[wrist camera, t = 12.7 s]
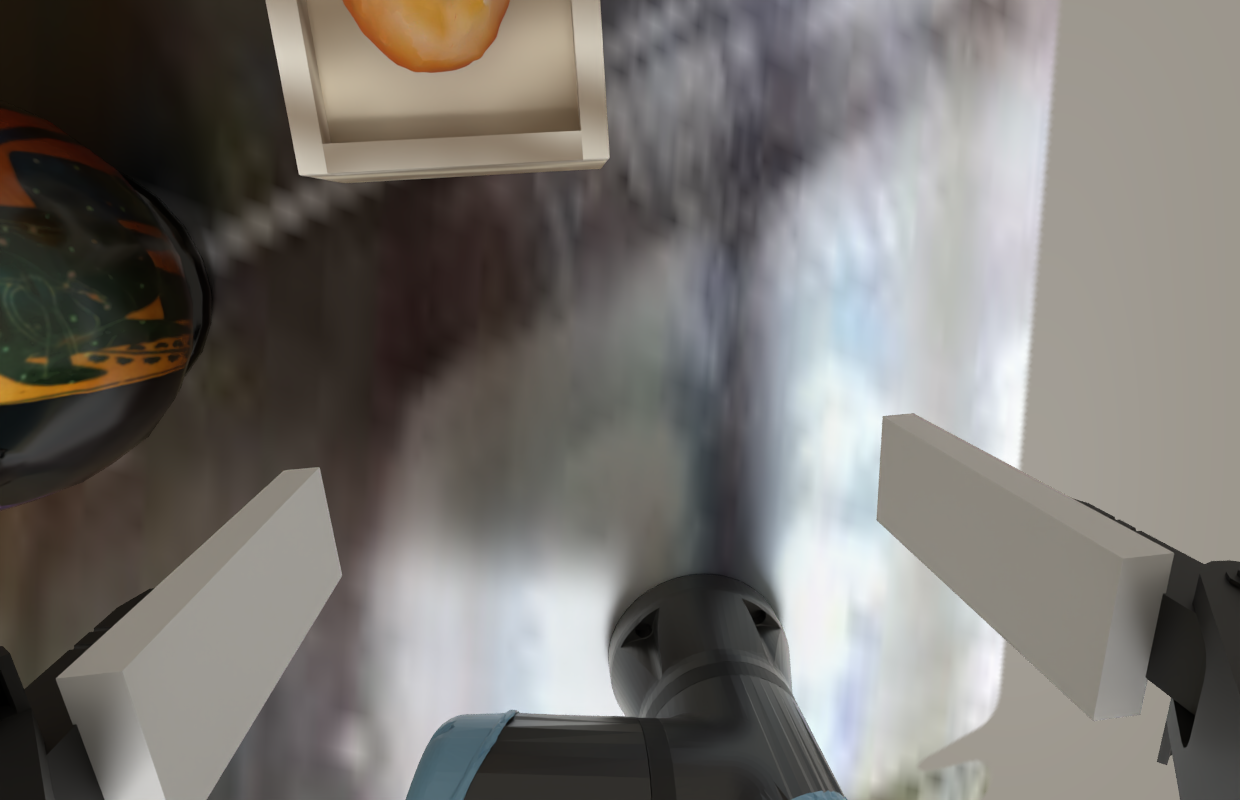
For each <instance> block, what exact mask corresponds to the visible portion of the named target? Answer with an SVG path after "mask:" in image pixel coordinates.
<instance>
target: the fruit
mask: <svg viewBox="0 0 1240 800" xmlns="http://www.w3.org/2000/svg"><path fill="white" fill-rule="evenodd" d="M342 1H343V3H344V5H345V6H346V8H347V9H348V11H349V12H350V14H351V15H352V17H353V18H354V20H355V21H356V23H357V25H358V26H359V28H360V30H361V31H362V32H363V34H364V35H365V36H366V37H367V38H368V39H370V40H371V42H372V43H373V44H374V45H375V46H376V47H377V48H378V49H379V50H380V51H381V52H382V53H383V54H384V55H386V56H387V57H388V58H389V59H390V60H391V61H393V62H394V63H395V64H397V65H398V66H401V67H404V68H406V69H409V70H410V71H413V72H427V73H436V72H446V71H453V70H458V69H460V68H463V67H466V66H468V65H469V64H471V63H472V62H473V61H475V60H478V59H480V58H481V57H482V56H483V54H484V53H485V51H486V50H487V49H488V48H489V47H490V45H491V44H492V43H493V42H494V40H495V39H496V37H497V34H498V31H499V27H500V24H501V22H502V19H503V17H504V15H505V13H506V11H507V8H508V6H509V2H510V0H342Z"/></svg>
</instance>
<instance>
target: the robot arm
mask: <svg viewBox="0 0 1240 800" xmlns="http://www.w3.org/2000/svg"><path fill="white" fill-rule="evenodd" d="M877 521H878V522H879V523H880V524H881V525H882V526H884V527H885V528H886V529H887V530H888V531H889V532H890V533H891V534H892V535H893V536H894V537H895V538H896V539H898V540H899V541H900V542H901V543H902V544H903V545H904V546H905V547H906V548H907V549H908V550H909V551H910V552H911V553H913V554H914V555H915V556H916V557H917V558H918V559H919V560H920V561H921V562H922V563H923V564H924V565H925V566H927V567H928V568H929V569H930V570H931V571H932V572H933V573H934V574H935V575H936V576H937V577H938V578H939V579H941V580H942V581H943V582H944V583H945V584H946V585H947V586H948V587H949V588H950V589H951V590H952V591H953V592H955V593H956V594H957V595H958V596H959V597H960V598H961V599H962V600H963V601H964V602H965V603H966V604H967V605H969V606H970V607H971V608H972V609H973V610H974V611H975V612H976V613H977V614H978V615H979V616H980V617H981V618H983V619H984V620H985V621H986V622H987V623H988V624H989V625H990V626H991V627H992V628H993V629H994V630H995V631H997V632H998V633H999V634H1000V635H1001V636H1002V637H1003V638H1004V639H1005V640H1006V641H1007V642H1008V643H1009V644H1011V645H1012V646H1013V647H1014V648H1015V649H1016V650H1017V651H1018V652H1019V653H1020V654H1021V655H1022V656H1023V657H1025V658H1026V659H1027V660H1028V661H1029V662H1030V663H1031V664H1032V665H1033V666H1034V667H1035V668H1036V669H1037V670H1039V671H1040V672H1041V673H1042V674H1043V675H1044V676H1045V677H1046V678H1047V679H1048V680H1049V681H1050V682H1051V683H1053V684H1054V685H1055V686H1056V687H1057V688H1058V689H1059V690H1060V691H1061V692H1062V693H1063V694H1064V695H1066V696H1067V697H1068V698H1069V699H1070V700H1071V701H1072V702H1073V703H1074V704H1075V705H1076V706H1077V707H1078V708H1079V709H1081V710H1082V711H1083V712H1084V713H1085V714H1086V715H1087V716H1088V717H1089V718H1090V719H1091V720H1093V721H1097V720H1105V719H1112V718H1120V717H1127V716H1134V715H1140V713H1141V709H1142V704H1143V699H1144V694H1145V690H1146V685H1147V680H1149V681H1151V682H1152V683H1153V684H1155V685H1156V686H1157V687H1158V688H1160V689H1161V690H1162V691H1164V692H1165V693H1166V694H1167V695H1169V696H1170V697H1171V702H1170V706H1169V711H1168V715H1167V720H1166V724H1165V728H1164V733H1163V737H1162V742H1161V746H1160V751H1159V755H1158V759H1157V762H1159V763H1162V764H1166V765H1167V763H1168V760H1169V757H1170V756H1171V755H1173V761H1174V767H1175V773H1176V778H1177V784H1178V789H1179V795H1180V800H1240V562H1237V561H1212V562H1209V563H1207V564H1203V563H1201V562H1199V561H1197V560H1195V559H1193V558H1191V557H1189V556H1187V555H1186V554H1184V553H1182V552H1180V551H1178V550H1176V549H1174V548H1172V547H1170V546H1168V545H1167V544H1165V543H1163V542H1161V541H1159V540H1157V539H1155V538H1153V537H1151V536H1150V535H1147V534H1146V533H1144V532H1142V531H1136V529H1135V528H1134V527H1132V526H1130V525H1129V524H1127V523H1125V522H1123V521H1121V520H1115V517H1113V516H1112V515H1110V514H1108V513H1106V512H1104V511H1102V510H1100V509H1098V508H1096V507H1095V506H1093V505H1091V504H1089V503H1086V502H1083V501H1079V500H1076V499H1073V498H1071V497H1069V496H1067V495H1065V494H1063V493H1061V492H1059V491H1057V490H1056V489H1054V488H1052V487H1050V486H1048V485H1046V484H1044V483H1042V482H1041V481H1039V480H1037V479H1035V478H1033V477H1031V476H1029V475H1028V474H1026V473H1024V472H1022V471H1020V470H1018V469H1016V468H1015V467H1013V466H1011V465H1009V464H1007V463H1005V462H1003V461H1001V460H1000V459H998V458H996V457H994V456H992V455H990V454H988V453H986V452H985V451H983V450H981V449H979V448H977V447H975V446H973V445H971V444H970V443H968V442H966V441H964V440H962V439H960V438H958V437H957V436H955V435H953V434H951V433H949V432H947V431H945V430H943V429H942V428H940V427H938V426H936V425H934V424H932V423H930V422H928V421H927V420H925V419H923V418H921V417H919V416H917V415H915V414H914V413H913V414H901V415H890V416H883V422H882V438H881V455H880V472H879V488H878V505H877ZM341 577H342V573H341V568H340V563H339V558H338V553H337V549H336V544H335V539H334V534H333V529H332V525H331V520H330V515H329V510H328V506H327V501H326V496H325V491H324V486H323V482H322V477H321V472H320V467H316V468H304V469H293V470H284V471H283V472H282V473H281V474H279V475H278V476H277V477H276V478H275V479H274V480H273V481H272V482H271V483H270V484H269V485H267V486H266V487H265V488H264V489H263V490H262V491H261V492H260V493H259V494H258V495H256V496H255V497H254V498H253V499H252V500H251V501H250V502H249V503H248V504H247V505H245V506H244V507H243V508H242V509H241V510H240V511H239V512H238V513H237V514H236V515H235V516H233V517H232V518H231V519H230V520H229V521H228V522H227V523H226V524H225V525H224V526H222V527H221V528H220V529H219V530H218V531H217V532H216V533H215V534H214V535H213V536H211V537H210V538H209V539H208V540H207V541H206V542H205V543H204V544H203V545H202V546H200V547H199V548H198V549H197V550H196V551H195V552H194V553H193V554H192V555H191V556H190V557H188V558H187V559H186V560H185V561H184V562H183V563H182V564H181V565H180V566H179V567H177V568H176V569H175V570H174V571H173V572H172V573H171V574H170V575H169V576H168V577H166V578H165V579H164V580H163V581H162V582H161V583H160V584H159V585H158V586H157V587H156V588H152V589H149V590H147V591H145V592H144V593H142V594H140V595H138V596H137V597H135V598H133V599H131V600H130V601H128V602H126V603H125V604H123V605H121V606H119V607H118V608H116V609H115V610H114V611H113V612H112V613H111V614H110V615H108V616H107V617H106V618H105V619H104V620H103V621H102V622H101V623H99V624H98V625H97V626H96V627H95V628H94V632H89V633H88V634H87V635H86V636H85V637H83V638H82V639H81V640H80V641H79V642H78V643H77V644H75V645H74V650H69V651H67V652H66V653H65V654H64V655H63V656H62V657H61V658H60V659H58V660H57V661H56V662H55V663H54V664H53V665H52V666H50V667H49V668H48V669H47V670H46V671H45V672H44V673H42V674H41V675H40V676H39V677H38V678H37V679H36V680H34V681H33V682H32V683H31V684H30V685H29V686H28V687H27V688H25V689H24V688H23V686H22V683H21V681H20V678H19V676H18V673H17V670H16V668H15V665H14V663H13V660H12V658H11V655H10V653H9V652H8V651H7V650H6V649H5V648H4V647H3V646H0V800H207V798H208V796H209V795H210V793H211V791H212V790H213V788H214V786H215V785H216V783H217V781H218V780H219V778H220V776H221V775H222V773H223V771H224V770H225V768H226V766H227V765H228V763H229V762H230V760H231V758H232V757H233V755H234V753H235V752H236V750H237V748H238V747H239V745H240V743H241V742H242V740H243V738H244V737H245V735H246V733H247V732H248V730H249V729H250V727H251V725H252V724H253V722H254V720H255V719H256V717H257V715H258V714H259V712H260V710H261V709H262V707H263V705H264V704H265V702H266V700H267V699H268V697H269V695H270V694H271V692H272V691H273V689H274V687H275V686H276V684H277V682H278V681H279V679H280V677H281V676H282V674H283V672H284V671H285V669H286V667H287V666H288V664H289V662H290V661H291V659H292V658H293V656H294V654H295V653H296V651H297V649H298V648H299V646H300V644H301V643H302V641H303V639H304V638H305V636H306V634H307V633H308V631H309V629H310V628H311V626H312V624H313V623H314V621H315V620H316V618H317V616H318V615H319V613H320V611H321V610H322V608H323V606H324V605H325V603H326V601H327V600H328V598H329V596H330V595H331V593H332V591H333V590H334V588H335V587H336V585H337V583H338V582H339V580H340V578H341ZM609 669H610V677H611V684H612V689H613V692H614V695H615V698H616V700H617V702H618V704H619V706H620V708H621V710H622V711H623V713H624V714H625V716H626V717H622V716H581V715H549V714H528V713H519V711H517V710H516V711H515V710H510V711H508V712H506V713H498V714H466V715H460V716H456V717H454V718H452V719H450V720H448V721H447V722H445V723H444V724H443V725H442V726H441V727H440V728H439V729H438V730H437V731H436V732H435V734H434V735H433V737H432V738H431V740H430V742H429V743H428V745H427V747H426V749H425V751H424V753H423V755H422V758H421V760H420V762H419V765H418V767H417V770H416V772H415V775H414V778H413V780H412V783H411V786H410V789H409V792H408V794H407V797H406V800H847V799H846V797H845V796H844V795H843V793H842V791H841V789H840V787H839V785H838V783H837V781H836V779H835V777H834V775H833V773H832V771H831V769H830V767H829V765H828V763H827V761H826V759H825V757H824V755H823V753H822V751H821V749H820V748H819V746H818V744H817V742H816V740H815V738H814V736H813V734H812V732H811V730H810V728H809V726H808V724H807V722H806V720H805V718H804V716H803V714H802V712H801V710H800V708H799V707H798V705H797V703H796V701H795V699H794V697H793V695H792V682H791V668H790V654H789V646H788V642H787V638H786V635H785V632H784V630H783V627H782V626H781V624H780V622H779V620H778V618H777V616H776V615H775V613H774V611H773V609H772V608H771V606H770V605H769V603H768V602H767V601H766V600H765V599H764V598H763V597H762V596H761V595H760V594H759V593H758V592H757V591H755V590H754V589H753V588H751V587H750V586H748V585H746V584H744V583H742V582H740V581H738V580H735V579H732V578H728V577H724V576H719V575H709V574H699V575H690V576H684V577H679V578H676V579H673V580H670V581H667V582H665V583H662V584H660V585H658V586H656V587H654V588H652V589H651V590H649V591H648V592H646V593H645V594H643V595H642V596H641V597H639V598H638V599H637V600H636V601H635V602H634V603H633V604H632V605H631V606H630V607H629V608H628V609H627V610H626V612H625V613H624V614H623V616H622V617H621V619H620V620H619V622H618V624H617V626H616V628H615V630H614V632H613V635H612V638H611V642H610V646H609Z"/></svg>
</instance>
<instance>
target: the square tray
mask: <svg viewBox="0 0 1240 800" xmlns="http://www.w3.org/2000/svg"><path fill="white" fill-rule="evenodd" d="M266 5H267V10H268V16H269V21H270V26H271V31H272V36H273V42H274V47H275V52H276V57H277V62H278V68H279V73H280V78H281V83H282V88H283V94H284V99H285V104H286V109H287V114H288V120H289V125H290V130H291V135H292V141H293V146H294V151H295V156H296V161H297V167H298V172H299V175H302V176H308V177H313V178H319V179H324V180H329V181H335V182H340V183H356V182H374V181H392V180H409V179H427V178H445V177H462V176H480V175H498V174H516V173H533V172H551V171H569V170H587V169H601V168H602V166H603V165H604V164H605V163H606V162H607V160H608V159H609V158H610V156H609V139H608V123H607V106H606V90H605V73H604V57H603V41H602V24H601V8H600V0H510V2H509V6H508V8H507V11H506V13H505V15H504V17H503V19H502V22H501V24H500V27H499V31H498V34H497V37H496V39H495V40H494V42H493V43H492V44H491V45H490V47H489V48H488V49H487V50H486V51H485V53H484V54H483V56H482V57H481V58H480V59H478V60H475V61H473V62H472V63H471V64H469V65H468V66H466V67H463V68H460V69H458V70H453V71H446V72H436V73H427V72H413V71H410V70H409V69H406V68H404V67H401V66H398V65H397V64H395V63H394V62H393V61H391V60H390V59H389V58H388V57H387V56H386V55H384V54H383V53H382V52H381V51H380V50H379V49H378V48H377V47H376V46H375V45H374V44H373V43H372V42H371V40H370V39H368V38H367V37H366V36H365V35H364V34H363V32H362V31H361V30H360V28H359V26H358V25H357V23H356V21H355V20H354V18H353V17H352V15H351V14H350V12H349V11H348V9H347V8H346V6H345V5H344V3H343V1H342V0H266Z"/></svg>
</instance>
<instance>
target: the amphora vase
mask: <svg viewBox="0 0 1240 800" xmlns="http://www.w3.org/2000/svg"><path fill="white" fill-rule="evenodd" d="M210 325H211V288H210V285H209V281H208V277H207V274H206V270H205V266H204V263H203V259H202V257H201V255H200V253H199V252H198V250H197V248H196V246H195V245H194V243H193V241H192V239H191V237H190V236H189V234H188V232H187V230H186V228H185V227H184V226H183V224H182V223H181V222H180V221H179V220H178V219H177V218H176V217H175V216H174V214H173V213H172V212H171V211H170V210H169V209H168V208H167V207H166V205H165V204H164V203H163V202H162V201H161V200H160V199H159V198H158V197H157V196H155V195H154V194H152V193H151V192H150V191H148V190H147V189H145V188H144V187H143V186H141V185H140V184H138V183H137V182H136V181H134V180H133V179H131V178H130V177H128V176H127V175H125V174H123V173H120V172H118V171H117V170H116V169H115V168H114V167H112V166H111V165H110V164H108V163H107V162H105V161H104V160H103V159H101V158H100V157H98V156H97V155H96V154H94V153H93V152H91V151H90V150H88V149H87V148H86V147H84V146H83V145H81V144H80V143H79V142H77V141H76V140H74V139H73V138H72V137H70V136H69V135H67V134H66V133H65V132H63V131H62V130H60V129H59V128H58V127H56V126H55V125H53V124H52V123H50V122H49V121H48V120H46V119H43V118H41V117H39V116H36V115H34V114H32V113H29V112H27V111H25V110H22V109H20V108H18V107H16V106H13V105H11V104H9V103H6V102H4V101H2V100H0V511H3V510H6V509H10V508H13V507H16V506H19V505H22V504H25V503H28V502H32V501H35V500H37V499H40V498H43V497H45V496H48V495H51V494H53V493H56V492H58V491H61V490H64V489H66V488H69V487H71V486H74V485H77V484H79V483H82V482H84V481H86V480H87V479H89V478H90V477H92V476H94V475H95V474H97V473H98V472H100V471H102V470H103V469H105V468H106V467H108V466H110V465H111V464H113V463H114V462H115V461H117V460H118V459H119V458H121V457H122V456H123V455H125V454H126V453H127V452H129V451H130V450H131V449H133V448H134V447H135V446H137V445H138V444H139V443H141V442H142V441H143V440H145V439H146V438H147V437H149V435H150V434H151V432H152V431H153V429H154V428H155V427H156V425H157V424H158V422H159V421H160V419H161V418H162V417H163V415H164V414H165V412H166V411H167V409H168V408H169V407H170V405H171V404H172V402H173V401H174V399H175V397H176V396H177V394H178V392H179V390H180V388H181V386H182V382H183V379H184V377H185V376H186V375H187V373H188V372H189V370H190V369H191V367H192V366H193V365H194V363H195V362H196V360H197V359H198V357H199V356H200V355H201V353H202V351H203V348H204V345H205V341H206V338H207V335H208V332H209V329H210Z"/></svg>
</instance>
